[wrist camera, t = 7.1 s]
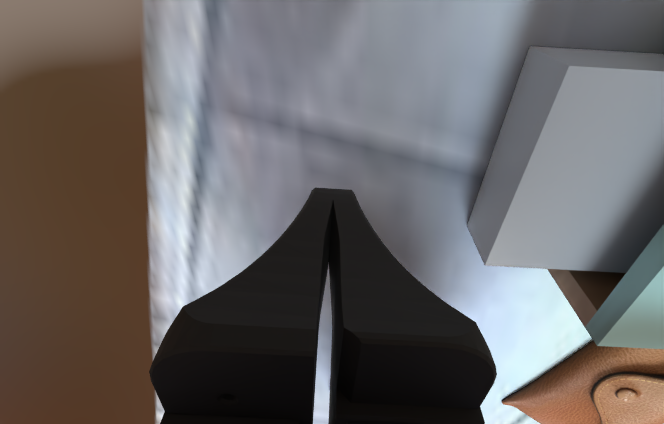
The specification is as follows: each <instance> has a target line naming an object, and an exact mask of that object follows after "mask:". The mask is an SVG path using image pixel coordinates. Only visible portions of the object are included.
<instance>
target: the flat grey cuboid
mask: <svg viewBox="0 0 664 424" xmlns="http://www.w3.org/2000/svg"><path fill="white" fill-rule="evenodd" d="M663 224H664V54H655V53H638V52H621V51H604V50H588V49H571V48H554V47H538V46H530V47H529V50H528V53H527V56H526V59H525V62H524V64H523V67H522V70H521V73H520V76H519V79H518V82H517V84H516V87H515V90H514V93H513V96H512V99H511V102H510V104H509V107H508V110H507V113H506V116H505V119H504V122H503V124H502V127H501V130H500V133H499V136H498V139H497V142H496V144H495V147H494V150H493V153H492V156H491V159H490V162H489V164H488V167H487V170H486V173H485V176H484V179H483V182H482V185H481V187H480V190H479V193H478V196H477V199H476V202H475V205H474V207H473V210H472V213H471V216H470V219H469V222H468V225H467V227H468V229H469V232H470V234H471V236H472V238H473V240H474V243H475V245H476V247H477V249H478V251H479V254H480V256H481V258H482V260H483V262H484V265H485V266H504V267H523V268H542V269H561V270H580V271H599V272H618V273H627V271H628V270H629V269H630V268H631V266H632V265H633V264H634V262H635V261H636V260H637V258H638V257H639V256H640V254H641V253H642V252H643V250H644V249H645V248H646V247H647V245H648V244H649V243H650V241H651V240H652V239H653V237H654V236H655V235H656V233H657V232H658V231H659V230H660V228H661V227H662V226H663Z"/></svg>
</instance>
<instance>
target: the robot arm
mask: <svg viewBox="0 0 664 424" xmlns="http://www.w3.org/2000/svg"><path fill="white" fill-rule="evenodd" d="M328 263H329V273H330V289H331V305H332V354H331V380H330V405H329V424H485V422H484V419H483V415H482V412H481V409H480V405H481V404H482V402H483V400H484V399H485V397H486V395H487V394H488V392H489V390H490V389H491V387H492V385H493V384H494V381H495V378H496V375H497V373H496V366H495V363H494V361H493V358H492V355H491V353H490V350H489V348H488V346H487V344H486V341H485V339H484V337H483V336H482V334H481V332H480V330H479V328H478V326H477V324H476V322H474V321H473V320H471V319H470V318H468V317H467V316H465V315H464V314H462V313H461V312H459V311H458V310H456V309H454V308H453V307H451V306H450V305H448V304H447V303H445V302H444V301H443V300H441V299H440V298H439V297H437V296H436V295H435V294H434V293H432V292H431V291H430V290H428V289H427V288H426V287H425V286H424V285H422V284H421V283H420V282H419V281H418V280H417V279H416V278H415V277H413V276H412V275H411V274H410V273H409V272H408V271H407V270H406V269H405V268H404V267H403V266H402V265H401V264H400V263H399V262H398V261H397V260H396V258H395V257H394V256H393V255H392V254H391V253H390V251H389V250H388V249H387V248H386V246H385V245H384V244H383V243H382V241H381V240H380V238H379V237H378V236H377V234H376V233H375V231H374V230H373V228H372V227H371V225H370V223H369V222H368V220H367V218H366V217H365V215H364V213H363V211H362V209H361V207H360V205H359V203H358V201H357V199H356V196H355V194H354V192H353V191H352V190H343V189H327V188H314V189H313V190H312V191H311V194H310V196H309V198H308V200H307V201H306V203H305V205H304V206H303V208H302V210H301V211H300V212H299V214H298V215H297V217H296V218H295V219H294V221H293V222H292V223H291V225H290V226H289V227H288V228H287V229H286V231H285V232H284V233H283V234H282V235H281V237H280V238H279V239H278V240H277V241H276V242H275V243H274V244H273V245H272V246H271V247H270V248H269V249H268V250H267V251H266V252H265V253H264V254H263V255H262V256H260V257H259V258H258V259H257V260H256V261H255V262H253V263H252V264H251V265H250V266H249V267H247V268H246V269H245V270H243V271H242V272H241V273H239V274H238V275H236V276H235V277H233V278H232V279H231V280H229V281H228V282H226V283H225V284H223V285H222V286H220V287H218V288H217V289H215V290H213V291H212V292H210V293H208V294H206V295H204V296H202V297H200V298H199V299H197V300H195V301H193V302H191V303H189V304H187V305H185V306H183V307H182V309H181V311H180V312H179V314H178V315H177V317H176V318H175V320H174V321H173V323H172V325H171V326H170V328H169V329H168V331H167V333H166V335H165V337H164V339H163V341H162V343H161V345H160V347H159V349H158V352H157V354H156V356H155V358H154V360H153V362H152V365H151V368H150V371H149V373H150V377H151V382H152V384H153V386H154V388H155V390H156V393H157V395H158V397H159V399H160V402H161V404H162V406H163V408H164V410H165V413H164V415H163V418H162V420H161V423H160V424H313V410H314V394H315V378H316V362H317V347H318V331H319V321H320V313H321V307H322V301H323V295H324V288H325V282H326V276H327V270H328Z"/></svg>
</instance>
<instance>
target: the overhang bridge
mask: <svg viewBox="0 0 664 424" xmlns="http://www.w3.org/2000/svg"><path fill="white" fill-rule="evenodd" d="M548 271H549V272H550V274H551V275H552V277H553V279H554V280H555V282H556V283H557V285H558V286H559V288H560V289H561V291H562V292H563V294H564V296H565V297H566V299H567V300H568V302H569V303H570V305H571V306H572V308H573V309H574V311H575V313H576V314H577V316H578V317H579V319H580V320H581V322H582V323H583V325H584V327H585V328H586V330H587V331H588V333H589V334H590V336H591V337H592V339H593V340H594V342H595V344H596V345H597V346H608V347H628V348H648V349H664V224H663V226H662V227H661V228H660V230H659V231H658V232H657V233H656V235H655V236H654V237H653V239H652V240H651V241H650V243H649V244H648V245H647V247H646V248H645V249H644V250H643V252H642V253H641V254H640V256H639V257H638V258H637V260H636V261H635V262H634V264H633V265H632V266H631V268H630V269H629V270H628V271H627V273H618V272H599V271H580V270H561V269H548Z"/></svg>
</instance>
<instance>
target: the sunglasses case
mask: <svg viewBox="0 0 664 424" xmlns="http://www.w3.org/2000/svg"><path fill="white" fill-rule="evenodd" d="M502 403H503V404H504V405H511V406H514V407H516V408H518V409H519V410H520V411H522V412H524V413H525V414H527V415H528V416H530V417H531V418H533V419H534V420H536V421H537V422H539V423H541V424H663V423H664V349H648V348H628V347H608V346H597V345H596V344H595V342H594V340H593V341H592V342H590V343H589V344H588V345H586V346H585V347H583V348H582V349H580V350H579V351H578V352H576V353H574V354H573V355H572V356H570V357H569V358H568V359H566V360H564V361H563V362H561V363H560V364H559V365H557V366H556V367H554V368H553V369H551V370H550V371H548V372H547V373H545V374H544V375H542V376H541V377H540V378H538V379H537V380H535V381H534V382H532V383H530V384H528V385H527V386H525V387H524V388H522V389H520V390H519V391H517V392H515V393H513V394H511V395H509V396H508V397H507V398H506V399H505V400H503V401H502Z"/></svg>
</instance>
